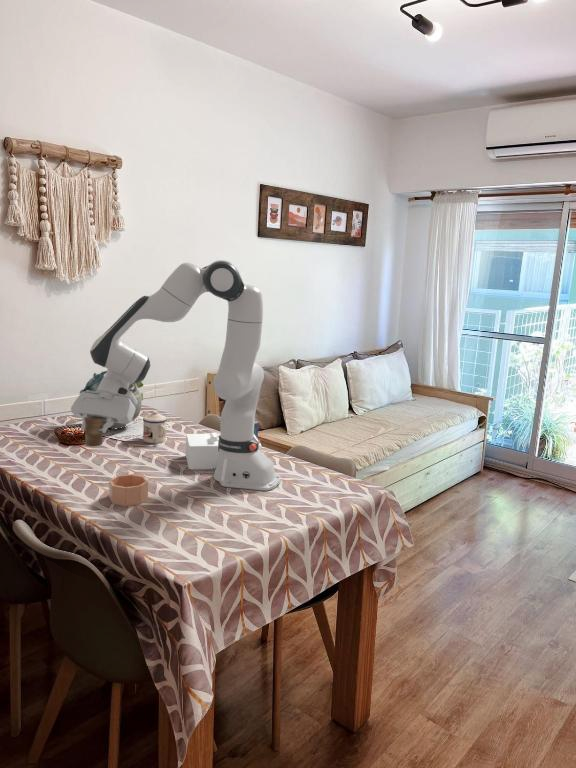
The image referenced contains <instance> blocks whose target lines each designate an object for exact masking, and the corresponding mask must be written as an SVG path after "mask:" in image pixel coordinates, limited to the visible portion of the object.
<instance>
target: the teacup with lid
mask: <svg viewBox="0 0 576 768" xmlns="http://www.w3.org/2000/svg"><path fill="white" fill-rule="evenodd" d="M142 421H143V426H142V427H143V433H142V434H143V435H142V436H143V437H142V440H143V442H145V443H148V444H160V443H165V441H166V439H167V438H166V437H167V417H166V416H165V415H162V414H160V413H158V411H157V410H154V411H152V413H150V414H147V415H145V416H144V417H143V418H142Z"/></svg>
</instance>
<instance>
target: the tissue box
mask: <svg viewBox="0 0 576 768" xmlns="http://www.w3.org/2000/svg"><path fill="white" fill-rule="evenodd" d="M219 436H220V433H217V432H211V433H186V434H185V458H186V459H187V460H186V459H185V460H186V463H187V467H188V470H189V469H191V470H216V469H215V468H216V466H217V461H218V455H219V452H218V441H219ZM254 438H255V439H256V440H257V441H258V440H259V438H258V439H257V438H256V436H255V435H254ZM258 449H259V450H260V451H261V452H262V444H261V442H260V443H259V448H258ZM213 468H214V469H213Z"/></svg>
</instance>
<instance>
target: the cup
mask: <svg viewBox="0 0 576 768" xmlns="http://www.w3.org/2000/svg"><path fill="white" fill-rule="evenodd" d="M108 481H109V485H108V495H109V497H108V499H109V501H110V502H111V504H112V505H117V506H123V507H129V506H136V505H141V504H143V503H144V502H146V501H147V500H148V498H149V480H148V479H147V478H146V477H145V476H144V475H138V474H133V473H129V474H121V475H116V476H115V477H113V478H111V479H110V480H108Z"/></svg>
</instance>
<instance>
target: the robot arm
mask: <svg viewBox="0 0 576 768" xmlns="http://www.w3.org/2000/svg"><path fill="white" fill-rule="evenodd" d="M204 293H210V294H212V295H214V296H215V297H217V298H220V299H223V300H225V301H227V305H228V311H227V321H226V322H227V324H226V334H225V343H224V348H223V352H222V355H221V358H220V363H219V366H218V369H217V372H216V374H215V376H214V378H213V380H212V381H213V382H212V387H213V391H214V393H215V394H216V396H218V398H220V399H221V400H224V401H225V402H224V406H223V408H222V410H221V413H220V430H219V432H220V433H219V434H220V436H219V441H218V452H219V455H218V461H217V466H216V469H214V474H213V479H214V480H215V481H216V482H218V483H219V484H220V486H222V487H224V488H225V487H227V488H234V489H244V490H245V489H246V490H253V491H254V490H255V491H263V492H264V491H270V490H273V489H275V488H276V487H278V486H279V485H280V483H281V482H280V481H282V477H281V475H280V474H279V473H275V472H276V471H275V464H274V462H273V460H272V459H271V458H269V457H268V456H267V455H266V454H265V453H263V451H262V450H261V451H260V450H259V449H258V448H259V443H260V444H261V439H258V441H257V440H256V439H255V438H254V422H255V421H256V419H255V417H256V413H257V412H256V411H257V407H258V403H259V398H260V393H261V388H262V384H263V382H264V379H265V370H264V369H263V367H262V365H261V364H259V363H258V362H256V361H255V360H256V357H257V354H258V352H259V349H260V347H261V341H262V340H261V339H262V330H263V329H262V328H263V318H264V313H263V312H264V306H263V305H264V303H263V294H262V292H261V290H260V289H259V288H257V287H256V286H254V285H250V284H245V283H244V282H243V279H242V277H241V274H240V272H239V270H238V268H237V267H236V265H235V264H234V263H232V262H230V261H229V260H226V259H218V260H215V261H213V262H212V263H210V264H208V265H206V266H203V267H202V268H201V267H199V266H198V265H196V264H194V263H191V262H183V263H181V264H179V265H178V267H177V266H176V268H175V269H174V270H173V271H172V273H170V275H169V276H168V277H167V279H165V281H164V282H163V283H162V285H161V287H160V288H159V289H158V290H157V291H156V292H154V293H153V294H151V295H143V296H141V297H140V298H138V299H136V301H135V302H134V303H133V304H131V306H129V307H128V309H127V310H125V312H123V314H122V315H121V316H120V317H119V318H118V319H117V320H116V321H115V322H114V323H113V324H112V325H111V326H110V327H109V328H107V330H106V331H105V332H104V333H103V334H102V335H101V336H99V337H98V338H97V339H95V341H94V342H93V343H92V345H91V348H90V350H89V353H90V357H91V359H92V361H93V363H94V364H96V365H98V366H101V367H102V368H106V371H107V373H106V375H105V377H104V378H103V379H102V381H101V383H100V384H99V386H98V388H97V390H96V391H90V390H86V391H84V392H81V393H80V392H79V395H78V396H77V398H76V399H75V400H74V402H73V403H72V405H71V406H70V411H71V413H72V414H73V415H74V416H75V417H76V418H77V417H78V418H81V419H82V420H81V421H82V424H81V426H80V429H81V430H83V431H85V419H86V418H87V417H101V418H102V420H103V421H107V423H105V424H102V425H101V426H100V428H99V431H100V432H101V433H102V434H106V432H107V431H108V428H109V427H111V426H112V425H113V424H114V422H116V423H123V424H126V425H128V424H130V423H131V422H132V421H131V420H132V418H133V416H134V413H135V406H136V405H137V403H138V401H137V399H136V397H135V396H134V394H133V393H132V392H131V391H130V390H128V387H129V385H130V384H131V383H132V384H135V383H138V382H143V381H144V380H145V378H146V377H147V374H148V372H149V370H150V368H151V361H150V358H149V356H148V355H146V354H145V353H144V352H141V351H140V350H138V349H137V348H134V347H132V346H131V345H130V344H127V343H125V342H124V341H122V340H121V339H120V338H121V337H122V336H123V335H125V333H127V332H128V330H129V329H131V327H132V326H133V325H134V324H135V323H136V322H138V321H141V320H154V321H158V322H161V323H162V322H163V323H174V322H179V321H181V320H183V319H184V318H185V316H187V314H189V312H190V311H191V309H192V308H193V306H194V304H195V303H196V302H197V301H198V299H199V297H201V295H203V294H204ZM85 392H86V393H85ZM278 484H279V485H278ZM277 485H278V486H277Z"/></svg>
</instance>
